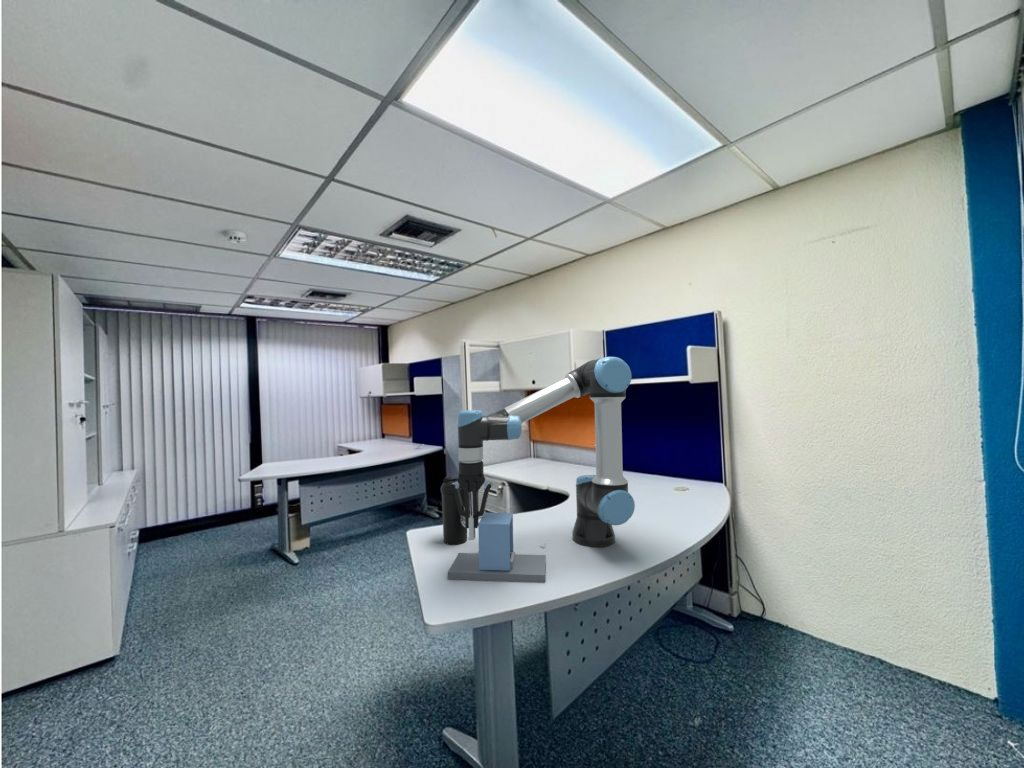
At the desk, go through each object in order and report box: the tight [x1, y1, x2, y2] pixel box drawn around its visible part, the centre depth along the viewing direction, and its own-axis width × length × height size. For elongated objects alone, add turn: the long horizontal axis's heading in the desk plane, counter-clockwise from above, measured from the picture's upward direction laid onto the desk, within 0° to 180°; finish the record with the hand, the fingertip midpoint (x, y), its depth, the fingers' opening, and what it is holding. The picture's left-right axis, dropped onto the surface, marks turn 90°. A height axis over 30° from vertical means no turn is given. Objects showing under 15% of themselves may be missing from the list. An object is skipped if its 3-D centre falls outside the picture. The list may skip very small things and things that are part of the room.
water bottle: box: [440, 475, 468, 546], centre depth 145 cm, size 10×10×23 cm
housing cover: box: [477, 512, 514, 571], centre depth 120 cm, size 9×11×13 cm
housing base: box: [447, 551, 547, 583], centre depth 120 cm, size 28×14×4 cm, turn 84°
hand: (472, 538), depth 121 cm, fingers closed
